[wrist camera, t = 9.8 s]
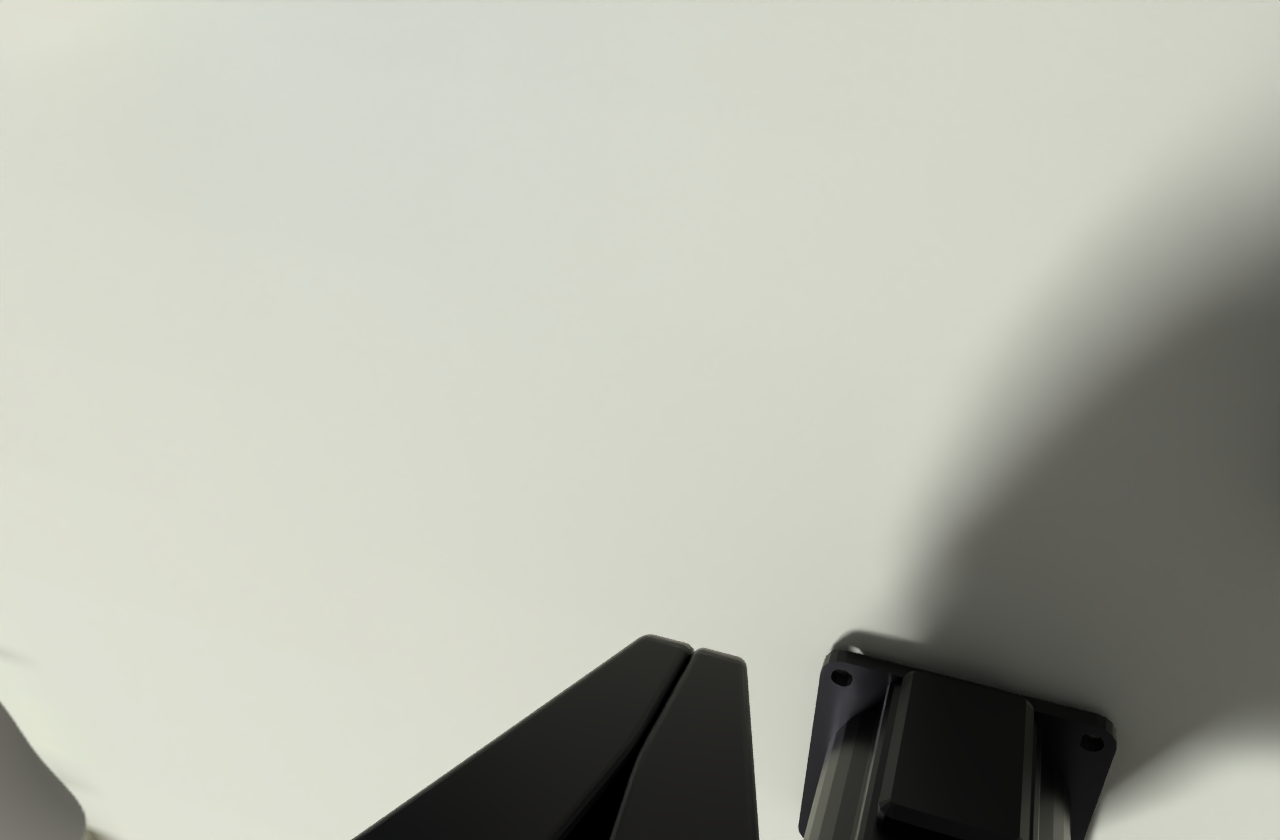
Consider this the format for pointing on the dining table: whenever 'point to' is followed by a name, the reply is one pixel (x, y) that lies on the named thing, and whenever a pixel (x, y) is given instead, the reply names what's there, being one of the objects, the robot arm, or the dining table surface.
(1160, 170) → the dining table surface
